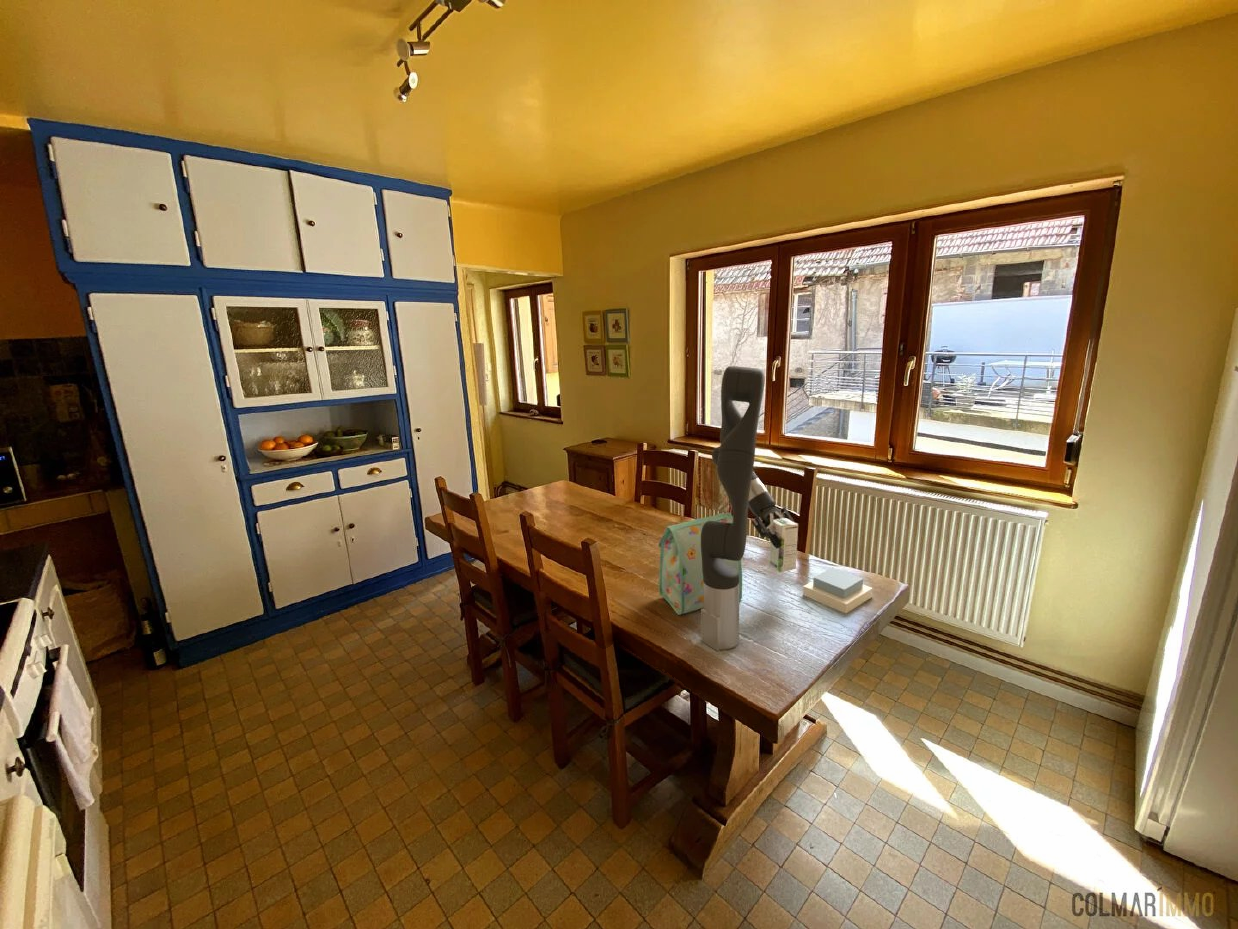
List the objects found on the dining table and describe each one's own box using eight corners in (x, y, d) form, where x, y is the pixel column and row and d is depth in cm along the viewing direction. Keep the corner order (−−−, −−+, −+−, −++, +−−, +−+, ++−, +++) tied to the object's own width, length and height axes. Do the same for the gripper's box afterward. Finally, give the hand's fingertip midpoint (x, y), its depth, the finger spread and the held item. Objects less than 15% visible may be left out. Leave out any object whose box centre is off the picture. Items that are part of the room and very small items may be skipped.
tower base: (845, 613, 144) (847, 594, 142) (802, 594, 155) (803, 577, 153) (871, 597, 152) (873, 579, 150) (829, 580, 163) (830, 563, 161)
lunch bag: (718, 579, 167) (717, 502, 161) (747, 602, 153) (748, 518, 146) (655, 595, 160) (652, 515, 153) (680, 621, 145) (677, 533, 138)
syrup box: (768, 565, 153) (769, 520, 150) (785, 561, 155) (786, 517, 151) (779, 572, 148) (781, 526, 144) (796, 569, 150) (799, 523, 146)
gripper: (748, 495, 148) (780, 544, 141) (779, 485, 156) (811, 531, 149) (734, 508, 153) (764, 556, 147) (764, 498, 161) (794, 543, 155)
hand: (787, 543), depth 148 cm, fingers closed on syrup box, 7 cm apart
